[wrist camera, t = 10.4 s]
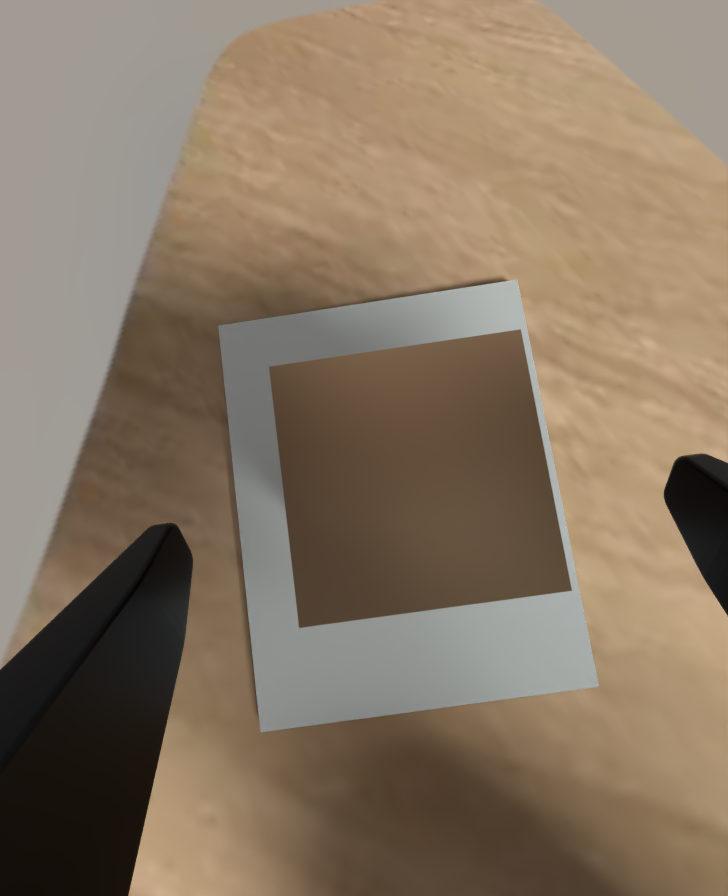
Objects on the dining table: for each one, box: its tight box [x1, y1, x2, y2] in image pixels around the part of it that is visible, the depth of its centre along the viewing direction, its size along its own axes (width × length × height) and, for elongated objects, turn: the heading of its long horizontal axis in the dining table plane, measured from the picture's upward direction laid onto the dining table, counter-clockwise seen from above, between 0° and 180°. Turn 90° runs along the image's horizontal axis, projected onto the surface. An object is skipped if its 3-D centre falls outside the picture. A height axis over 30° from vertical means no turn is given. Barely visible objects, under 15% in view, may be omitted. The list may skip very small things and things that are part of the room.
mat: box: [218, 280, 599, 732], centre depth 16 cm, size 14×11×1 cm
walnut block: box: [269, 329, 572, 628], centre depth 12 cm, size 4×4×9 cm
